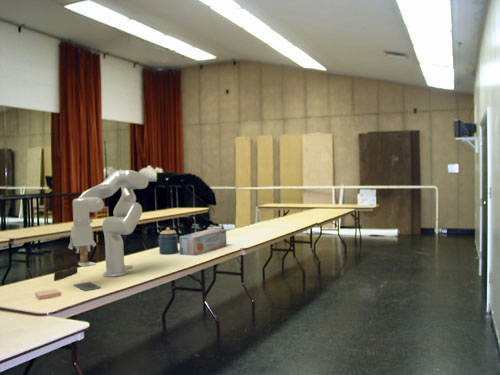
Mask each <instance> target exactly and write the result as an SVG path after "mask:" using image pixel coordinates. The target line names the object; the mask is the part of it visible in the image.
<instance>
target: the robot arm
mask: <svg viewBox="0 0 500 375" xmlns="http://www.w3.org/2000/svg"><path fill="white" fill-rule="evenodd" d="M148 185H149V178H148V176H147V174H144V173H141V172H138V171H135V170H133V169H132V170H131V169H117V170H114V171H113V172H112V173H110V175H109V176H107V177H106V179H105V180H103V181H102V182H101V183H99V184H97V185H94V186H92V187H91V188H89V189H86V191H84V192H83V193H82V194H81V195H80V196H79V197H77V198H74V199H73V200H72V218H73V221H72V222H73V224H72V225H73V226H71V229H70V238H69V240H70V242H69V244H68V247H67V248H68V249H69V250H72V251H73V252H74V253H75V259H76V261H77V262H78V261H80V253H79V248H80V246H87V252H88V261H89V260H90V252H91V250H92V249H93V248H94V247H96V246H97V243H96V242H95V240H94V233H93V227H92V225H91V223H93V220H91V219H90V218H91V217H90V212H91V213H97V212H101V211H102V209H103V208H104V206H105V203H104V201H103V199H107V198H109V197H111V196H113V195H114V194H115V193H116V192H117V191H118V190H119V189H121V196H120V198H119V200H118V201H117V203H116V205H115V206H114V209H113V210H112V211H113V216H108V217H106V218H105V219H104V220H103V221H102V226H101V227H102V230H103V232H102V233H103V235H104V248H105V271H104V272H103V276H104V277H106V278H107V277H110V278H111V277H112V278H113V277H114V278H116V277H121V276H122V277H123V276H126V275H127V274H128V270H132V269H133V268H134V266H133V264H129V265H126V264H125V256H124V249H125V248H124V240H123V238H122V236H121V235H124V236H125V235H130V234H132V233H133V232H134V230H135V229H136V227H137V225H138V224H139V221H140V219H141V217H142V214H143V207H142V205H141V204H140V203H139V202H136V201H137V196H136V194H135V192H134V190H142V189H146V188H147V187H148Z"/></svg>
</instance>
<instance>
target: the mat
mask: <svg viewBox="0 0 500 375" xmlns="http://www.w3.org/2000/svg"><path fill="white" fill-rule="evenodd" d="M73 287H76V288H78V289H79V290H81V291H83V292H88V290H89V291H93V290H98V289H99V290H100V289H102V287H101V286H99V285H97V284H95V283H93V282H91V281H85V282H81V283H80V282H79V283H75V284H73Z"/></svg>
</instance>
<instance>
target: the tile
mask: <svg viewBox="0 0 500 375" xmlns="http://www.w3.org/2000/svg"><path fill="white" fill-rule="evenodd" d="M34 293H35V294H34V295H35V296H36V297H35V298H37V299H38V300H39V301H42V299H43V300H46V299H53V298H58V297H61V296H62V291H60V290H59V289H57V288H52V289H47V290H42V291H36V292H34Z"/></svg>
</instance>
